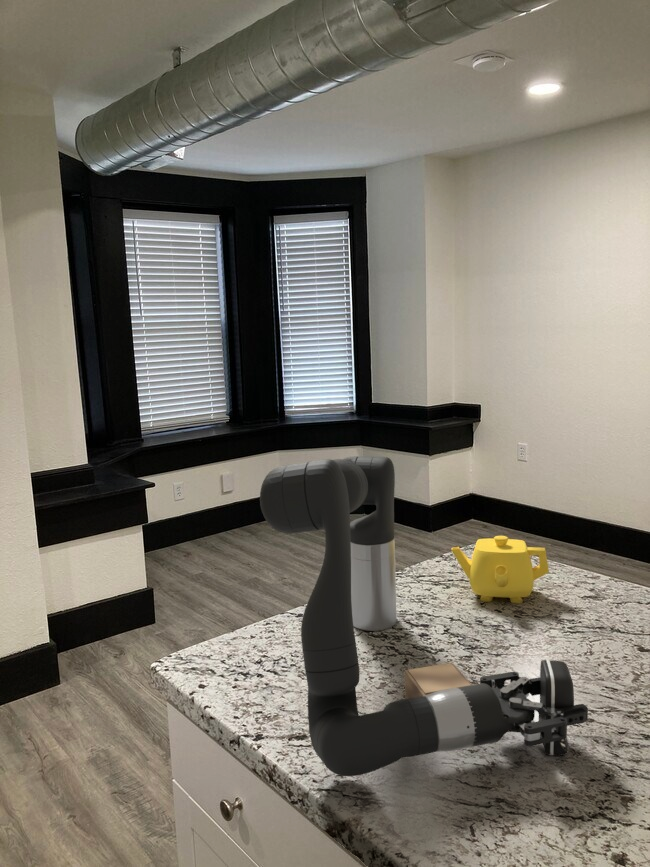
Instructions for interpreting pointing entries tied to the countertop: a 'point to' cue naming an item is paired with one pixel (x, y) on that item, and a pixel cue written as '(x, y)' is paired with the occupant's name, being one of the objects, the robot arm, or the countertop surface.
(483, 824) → the countertop surface
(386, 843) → the countertop surface
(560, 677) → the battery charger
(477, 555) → the teapot
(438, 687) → the wooden box
